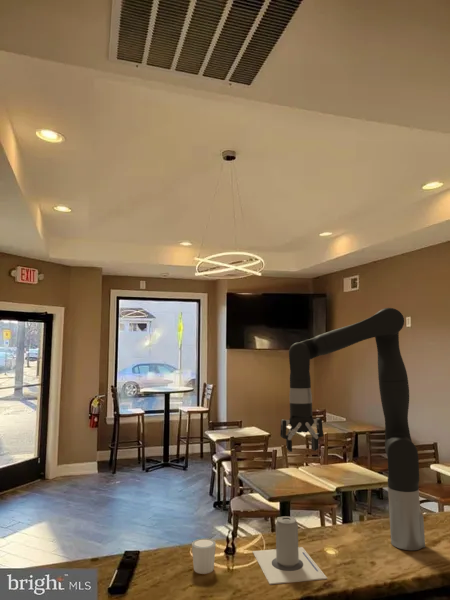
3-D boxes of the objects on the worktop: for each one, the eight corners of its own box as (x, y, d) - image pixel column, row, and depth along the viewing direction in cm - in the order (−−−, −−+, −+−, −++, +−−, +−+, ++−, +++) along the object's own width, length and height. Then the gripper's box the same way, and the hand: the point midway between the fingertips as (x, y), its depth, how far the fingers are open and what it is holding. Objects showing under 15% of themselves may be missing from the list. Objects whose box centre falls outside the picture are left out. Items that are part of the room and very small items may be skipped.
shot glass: (197, 577, 122) (197, 549, 123) (187, 566, 128) (187, 540, 129) (220, 571, 125) (219, 544, 126) (209, 561, 131) (209, 536, 132)
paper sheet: (302, 547, 140) (302, 546, 140) (327, 578, 120) (327, 577, 120) (252, 552, 137) (252, 550, 137) (269, 584, 118) (269, 582, 118)
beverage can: (298, 558, 132) (296, 515, 133) (299, 568, 125) (298, 523, 127) (276, 557, 132) (275, 515, 134) (276, 567, 126) (275, 523, 127)
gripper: (316, 399, 157) (318, 447, 154) (277, 401, 154) (278, 449, 152) (324, 402, 149) (326, 452, 147) (283, 403, 147) (285, 454, 145)
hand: (302, 450), depth 150 cm, fingers open, 8 cm apart
